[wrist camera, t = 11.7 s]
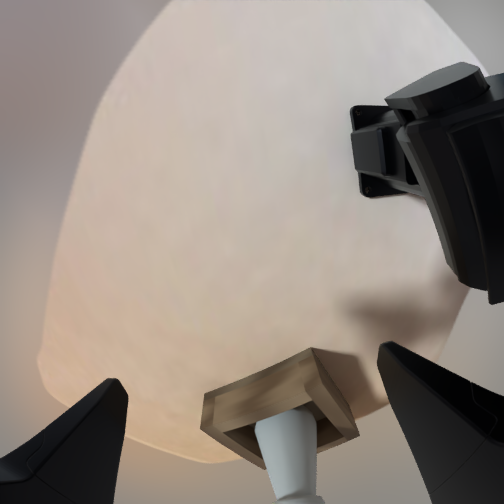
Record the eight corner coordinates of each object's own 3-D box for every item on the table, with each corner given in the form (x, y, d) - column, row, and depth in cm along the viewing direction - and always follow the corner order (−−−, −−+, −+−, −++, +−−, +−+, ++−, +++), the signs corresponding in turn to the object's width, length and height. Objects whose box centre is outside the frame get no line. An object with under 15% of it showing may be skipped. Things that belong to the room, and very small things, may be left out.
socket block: (310, 347, 22) (322, 383, 18) (349, 405, 26) (360, 435, 22) (204, 393, 24) (200, 429, 20) (262, 440, 27) (264, 469, 23)
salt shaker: (315, 415, 25) (340, 520, 12) (264, 428, 25) (272, 533, 13) (304, 384, 23) (334, 510, 10) (245, 400, 23) (249, 524, 11)
